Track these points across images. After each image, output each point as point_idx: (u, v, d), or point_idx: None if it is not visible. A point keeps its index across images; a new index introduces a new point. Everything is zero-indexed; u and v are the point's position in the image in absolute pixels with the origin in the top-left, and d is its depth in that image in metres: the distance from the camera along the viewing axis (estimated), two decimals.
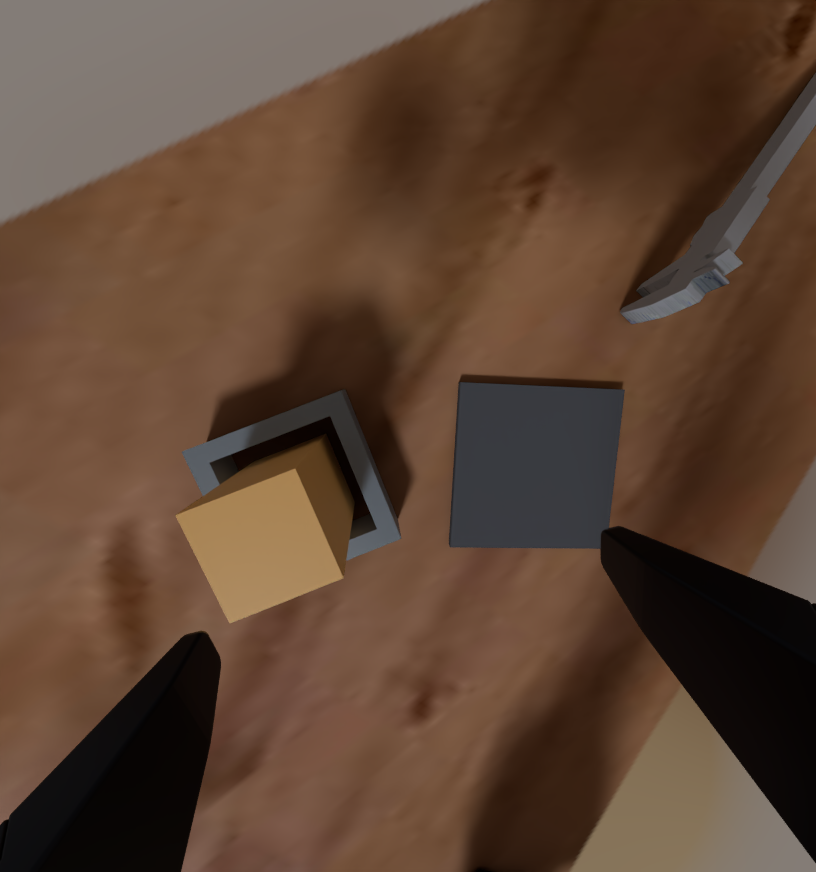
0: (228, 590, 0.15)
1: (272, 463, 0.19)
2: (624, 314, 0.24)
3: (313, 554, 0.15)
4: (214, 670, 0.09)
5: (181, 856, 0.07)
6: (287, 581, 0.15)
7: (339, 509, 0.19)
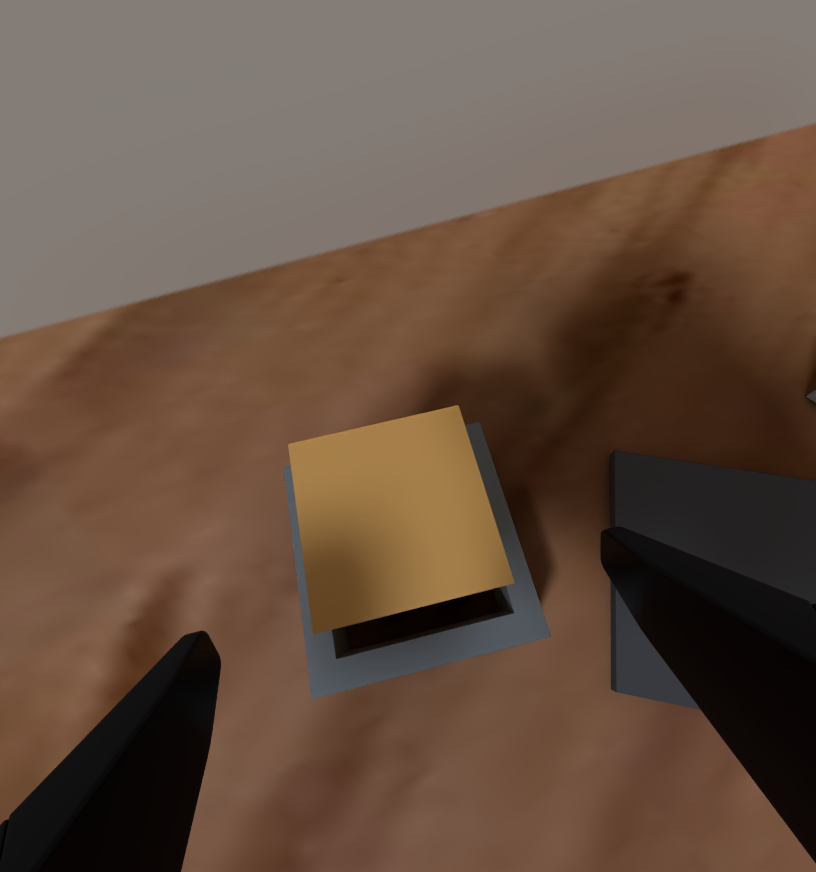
0: (327, 571, 0.09)
1: None
2: (815, 397, 0.20)
3: (469, 532, 0.09)
4: (214, 670, 0.09)
5: (182, 856, 0.07)
6: (421, 572, 0.09)
7: None
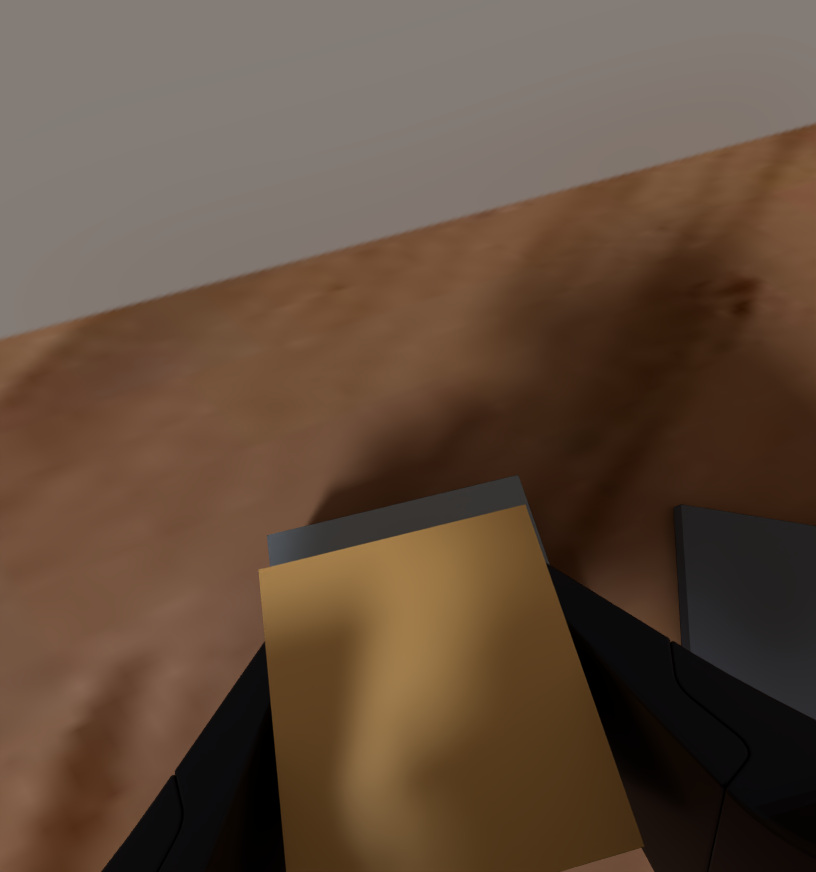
0: (319, 813, 0.05)
1: None
2: None
3: (558, 740, 0.06)
4: None
5: None
6: (481, 820, 0.05)
7: None
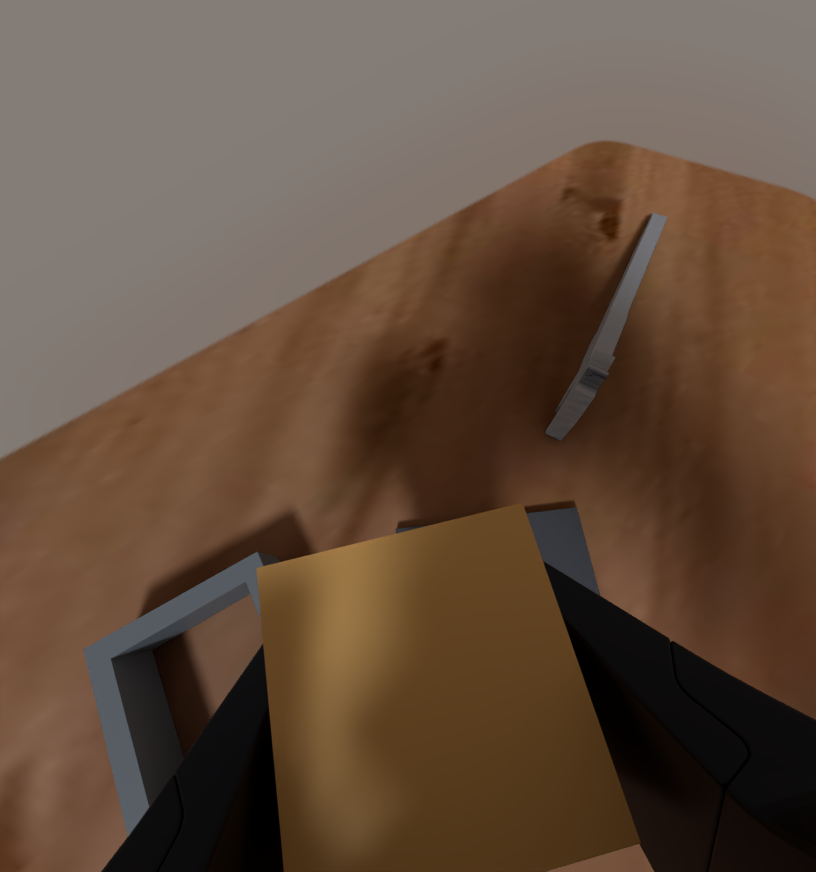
0: (318, 811, 0.05)
1: None
2: (548, 433, 0.24)
3: (555, 738, 0.06)
4: None
5: None
6: (478, 817, 0.05)
7: None
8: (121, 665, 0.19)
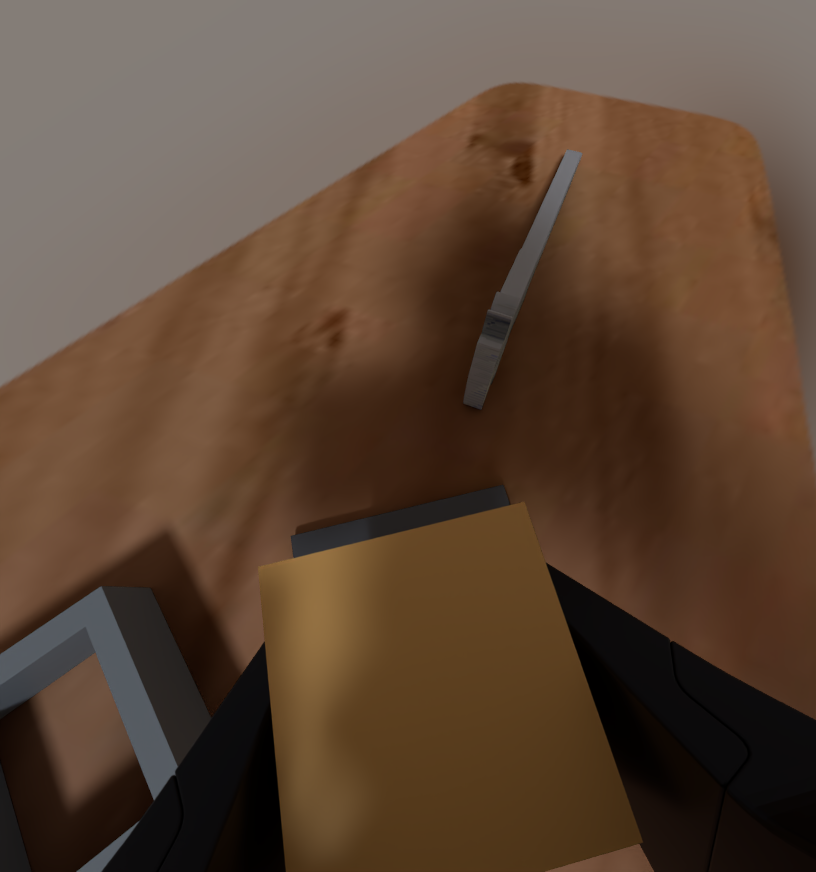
0: (319, 810, 0.05)
1: None
2: (466, 402, 0.21)
3: (557, 736, 0.06)
4: None
5: None
6: (480, 816, 0.05)
7: None
8: None
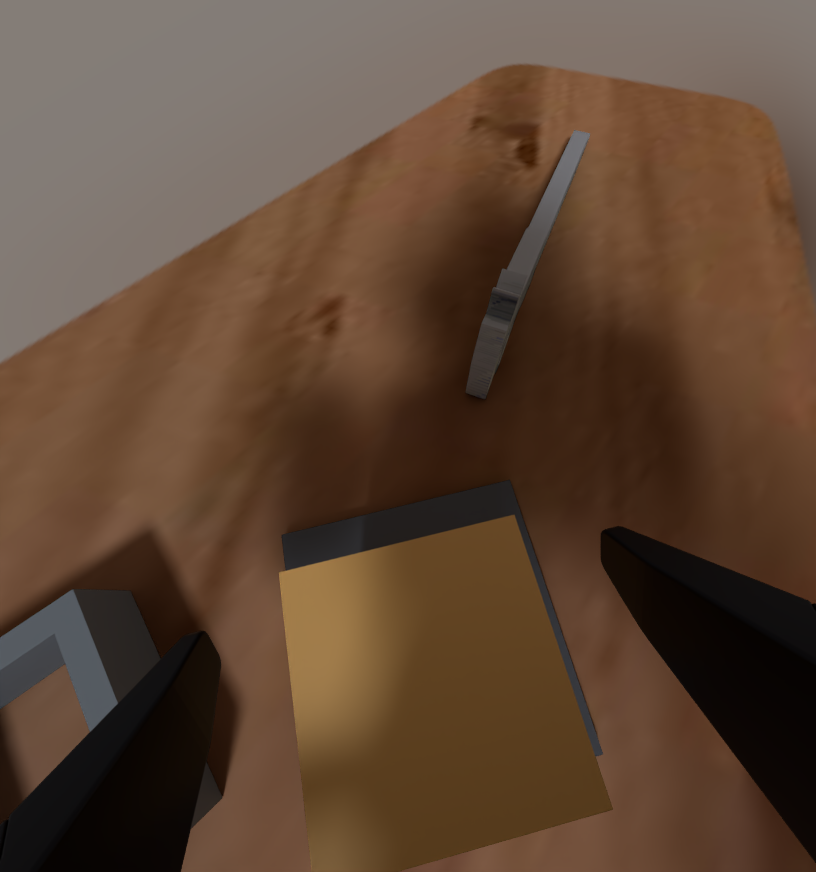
0: (335, 783, 0.06)
1: None
2: (468, 391, 0.19)
3: (541, 720, 0.06)
4: (214, 670, 0.09)
5: (181, 856, 0.07)
6: (474, 788, 0.06)
7: None
8: None
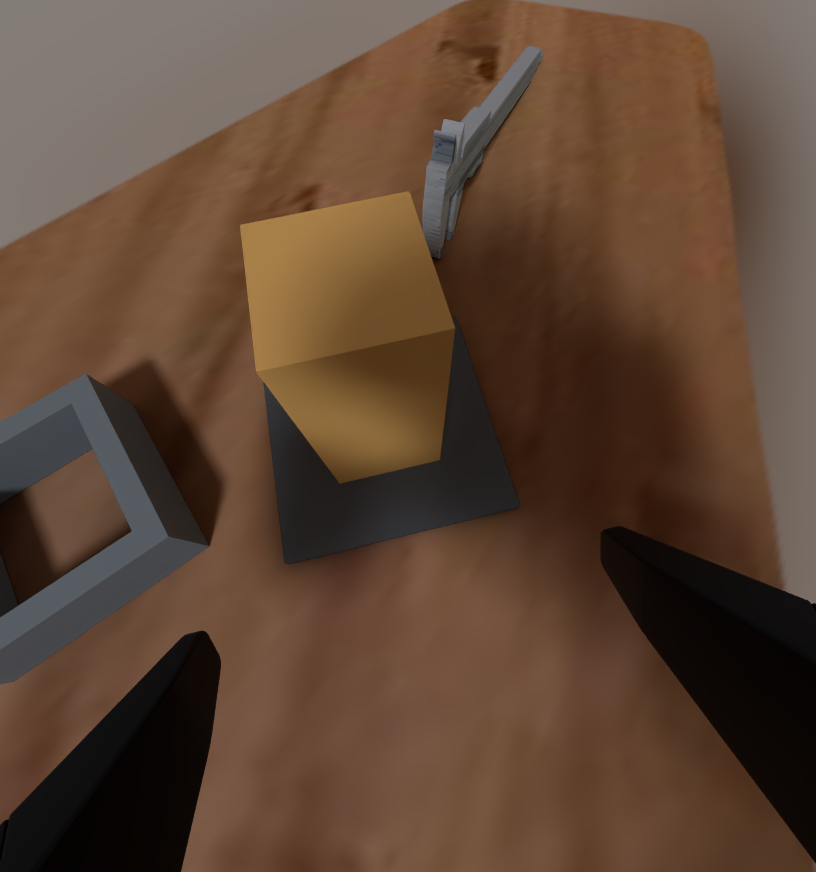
0: (273, 323, 0.09)
1: None
2: None
3: (413, 290, 0.10)
4: (214, 670, 0.09)
5: (182, 856, 0.07)
6: (365, 321, 0.09)
7: None
8: None
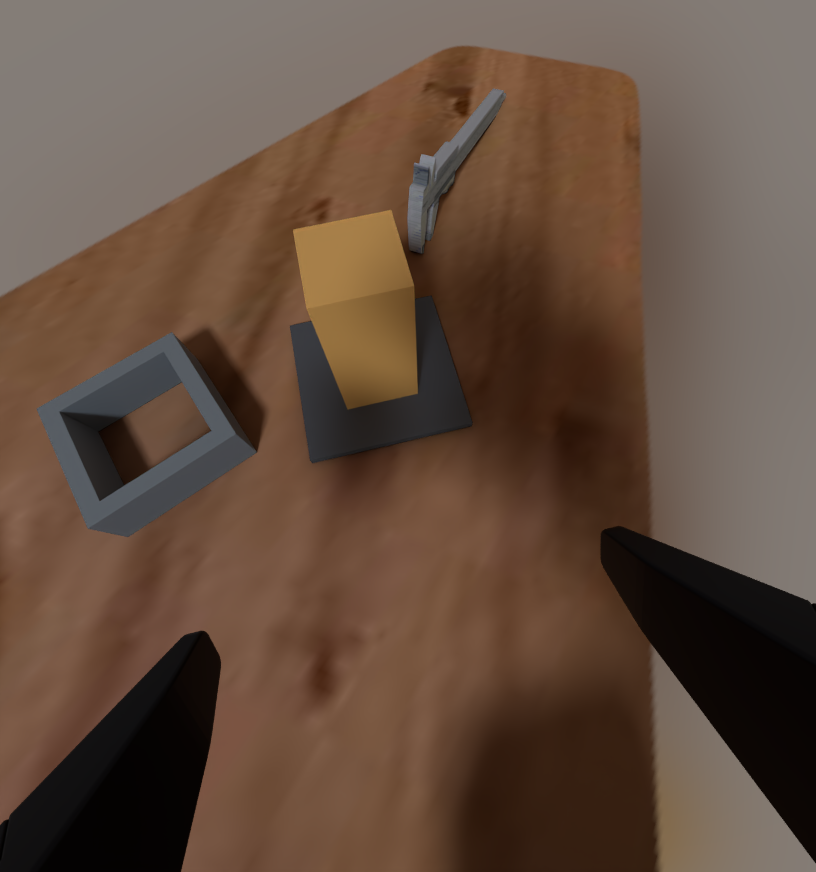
0: (314, 283, 0.17)
1: None
2: (410, 248, 0.30)
3: (392, 265, 0.17)
4: (214, 670, 0.09)
5: (182, 856, 0.07)
6: (365, 282, 0.17)
7: None
8: (69, 420, 0.24)
